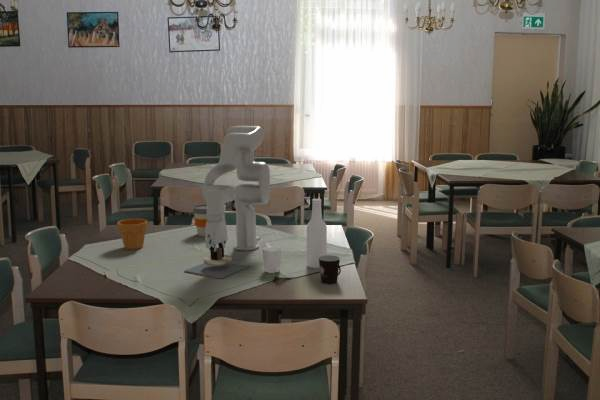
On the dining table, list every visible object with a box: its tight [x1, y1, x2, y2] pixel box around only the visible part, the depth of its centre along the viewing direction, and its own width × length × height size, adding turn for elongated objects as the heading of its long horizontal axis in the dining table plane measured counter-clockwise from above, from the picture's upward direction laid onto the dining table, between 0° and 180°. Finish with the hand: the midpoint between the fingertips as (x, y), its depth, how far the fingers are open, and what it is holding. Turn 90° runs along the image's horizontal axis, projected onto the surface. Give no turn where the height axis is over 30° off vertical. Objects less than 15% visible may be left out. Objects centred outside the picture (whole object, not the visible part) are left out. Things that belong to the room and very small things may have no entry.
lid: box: [203, 247, 233, 266], centre depth 270 cm, size 12×12×6 cm
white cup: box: [262, 245, 282, 274], centre depth 267 cm, size 8×8×10 cm
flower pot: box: [116, 218, 148, 250], centre depth 307 cm, size 14×14×13 cm
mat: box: [183, 261, 250, 280], centre depth 271 cm, size 20×20×1 cm
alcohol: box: [306, 198, 328, 270], centre depth 272 cm, size 9×9×30 cm
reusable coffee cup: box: [192, 204, 207, 237], centre depth 332 cm, size 13×13×15 cm
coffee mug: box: [319, 254, 342, 285], centre depth 251 cm, size 12×9×10 cm
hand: (217, 257), depth 270 cm, fingers closed on lid, 4 cm apart
